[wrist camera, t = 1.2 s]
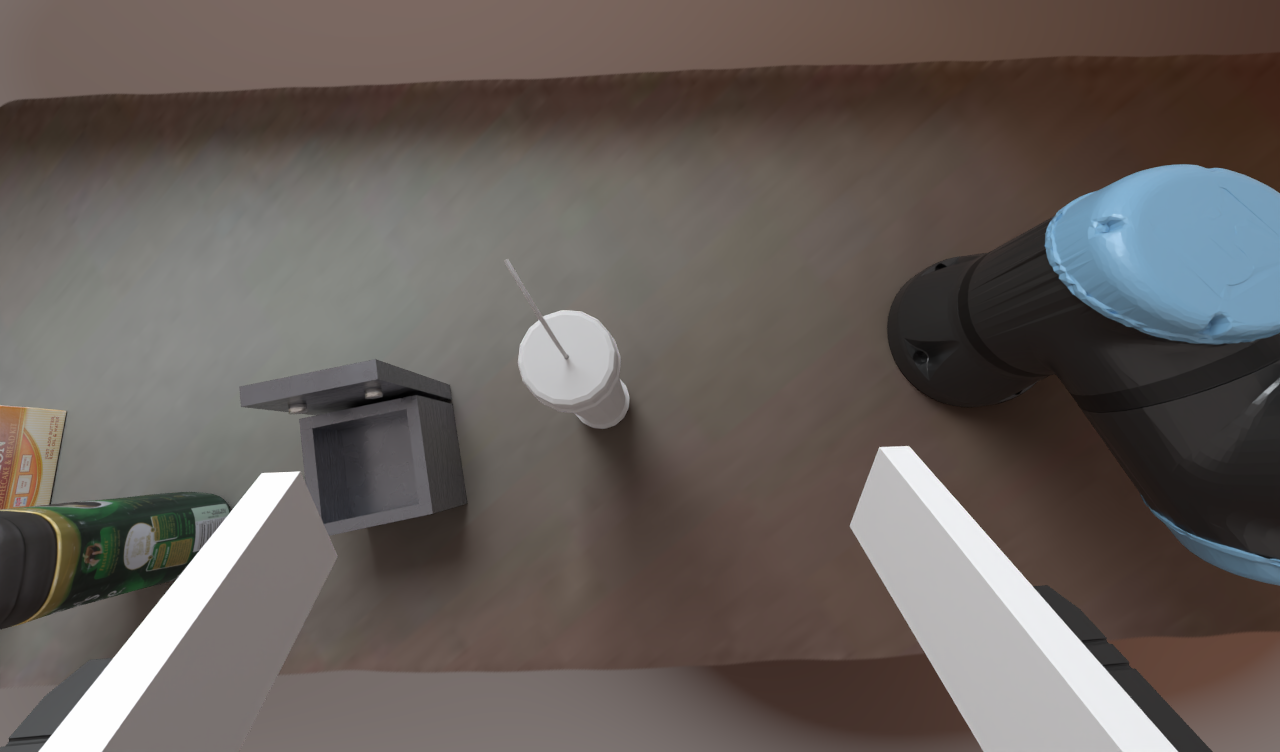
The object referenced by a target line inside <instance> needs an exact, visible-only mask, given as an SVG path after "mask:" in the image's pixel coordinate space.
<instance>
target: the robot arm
mask: <svg viewBox="0 0 1280 752" xmlns="http://www.w3.org/2000/svg"><path fill="white" fill-rule="evenodd" d="M887 328H888V340H889V345H890V349H891V352H892V355H893V357H894V359H895V361H896V363H897V365H898V367H899V368H900V370H901V371H902V373H903V374H904V375H905V377H906V378H907V379H908V380H909V381H910V382H911V383H912V384H913V385H914V386H915V387H916V388H917V389H919V390H920V391H921V392H923V393H924V394H926V395H928V396H929V397H931V398H933V399H935V400H937V401H940V402H943V403H945V404H949V405H953V406H960V407H978V406H985V405H992V404H998V403H1002V402H1005V401H1008V400H1010V399H1013V398H1015V397H1017V396H1019V395H1021V394H1022V393H1024V392H1025V391H1027V390H1028V389H1029V388H1031V387H1032V386H1033V385H1034V384H1035V383H1036V382H1037V381H1039V380H1042V379H1044V378H1046V377H1048V376H1049V375H1053V374H1056V375H1057V376H1058V378H1059V379H1060V380H1061V382H1062V383H1063V384H1064V386H1065V387H1066V389H1067V390H1068V391H1069V393H1070V394H1071V395H1072V397H1073V398H1074V399H1075V401H1076V402H1077V404H1078V405H1079V407H1080V408H1081V410H1082V411H1083V413H1084V414H1085V415H1086V417H1087V418H1088V420H1089V421H1090V422H1091V424H1092V425H1093V427H1094V428H1095V430H1096V431H1097V432H1098V434H1099V435H1100V437H1101V438H1102V440H1103V441H1104V442H1105V444H1106V445H1107V447H1108V448H1109V450H1110V451H1111V452H1112V454H1113V455H1114V457H1115V458H1116V460H1117V461H1118V462H1119V464H1120V465H1121V467H1122V468H1123V469H1124V471H1125V472H1126V474H1127V475H1128V477H1129V478H1130V479H1131V481H1132V482H1133V484H1134V485H1135V487H1136V488H1137V489H1138V491H1139V492H1140V495H1141V497H1142V499H1143V501H1144V503H1145V504H1146V506H1148V507H1149V508H1150V510H1151V512H1152V513H1153V514H1154V515H1155V516H1156V517H1157V518H1159V519H1160V520H1161V521H1162V522H1164V523H1165V525H1166V526H1167V527H1168V528H1169V529H1170V531H1171V532H1172V533H1173V534H1174V535H1175V537H1176V538H1177V539H1178V540H1179V541H1180V542H1181V544H1183V545H1184V546H1185V547H1186V548H1187V549H1188V550H1190V551H1191V552H1192V553H1194V554H1195V555H1196V556H1198V557H1200V558H1201V559H1203V560H1204V561H1206V562H1208V563H1210V564H1212V565H1214V566H1216V567H1218V568H1221V569H1223V570H1225V571H1228V572H1230V573H1233V574H1236V575H1239V576H1242V577H1246V578H1249V579H1253V580H1256V581H1260V582H1265V583H1269V584H1275V585H1280V193H1278V192H1277V191H1275V190H1274V189H1272V188H1270V187H1269V186H1267V185H1265V184H1263V183H1261V182H1259V181H1257V180H1255V179H1253V178H1250V177H1248V176H1245V175H1243V174H1240V173H1237V172H1233V171H1230V170H1226V169H1222V168H1211V169H1207V168H1204V167H1200V166H1198V165H1184V164H1181V165H1168V166H1161V167H1155V168H1151V169H1147V170H1143V171H1140V172H1137V173H1134V174H1132V175H1129V176H1127V177H1124V178H1122V179H1120V180H1118V181H1116V182H1114V183H1112V184H1110V185H1108V186H1107V187H1105V188H1103V189H1101V190H1099V191H1096V192H1092V193H1089V194H1086V195H1083V196H1081V197H1079V198H1077V199H1075V200H1073V201H1072V202H1070V203H1069V204H1067V205H1066V206H1065V207H1063V208H1062V209H1061V210H1059V211H1058V212H1057V214H1056V215H1055V216H1054V217H1052V218H1050V219H1048V220H1046V221H1044V222H1043V223H1041V224H1039V225H1037V226H1035V227H1034V228H1032V229H1030V230H1028V231H1026V232H1025V233H1023V234H1021V235H1019V236H1017V237H1016V238H1014V239H1012V240H1010V241H1008V242H1007V243H1005V244H1003V245H1001V246H999V247H997V248H996V249H994V250H993V251H991V252H989V253H983V254H976V255H968V256H961V257H955V258H950V259H946V260H943V261H940V262H938V263H935V264H933V265H931V266H929V267H928V268H926V269H924V270H923V271H921V272H920V273H918V274H917V275H915V276H914V277H912V278H911V279H910V280H909V281H908V282H907V283H906V284H905V285H904V286H903V287H902V288H901V289H900V291H899V292H898V294H897V295H896V297H895V299H894V301H893V303H892V306H891V309H890V312H889V317H888V327H887ZM850 527H851V529H852V531H853V532H854V534H855V536H856V537H857V539H858V541H859V542H860V544H861V546H862V548H863V549H864V551H865V553H866V554H867V556H868V558H869V559H870V561H871V563H872V564H873V566H874V568H875V569H876V571H877V573H878V574H879V576H880V578H881V580H882V581H883V583H884V585H885V586H886V588H887V590H888V591H889V593H890V595H891V596H892V598H893V600H894V601H895V603H896V605H897V606H898V608H899V610H900V612H901V613H902V615H903V617H904V618H905V620H906V622H907V623H908V625H909V627H910V628H911V630H912V632H913V633H914V635H915V637H916V638H917V640H918V642H919V643H920V645H921V647H922V649H923V650H924V652H925V654H926V655H927V657H928V659H929V660H930V662H931V664H932V665H933V667H934V669H935V670H936V672H937V674H938V675H939V677H940V679H941V681H942V682H943V684H944V686H945V687H946V689H947V691H948V692H949V694H950V696H951V697H952V699H953V700H954V702H955V704H956V706H957V707H958V709H959V711H960V713H961V714H962V716H963V718H964V719H965V721H966V723H967V724H968V726H969V728H970V729H971V731H972V733H973V734H974V736H975V738H976V739H977V741H978V743H979V745H980V746H981V748H982V750H983V751H984V752H1212V751H1211V749H1210V748H1208V746H1207V745H1206V744H1205V743H1204V742H1203V741H1202V740H1201V739H1200V738H1199V737H1198V736H1197V735H1196V733H1195V732H1194V731H1193V730H1192V729H1191V728H1190V727H1189V726H1188V725H1187V724H1186V723H1185V722H1184V721H1183V719H1182V718H1181V717H1180V716H1179V715H1178V714H1177V713H1176V712H1175V711H1174V710H1173V709H1172V708H1171V707H1170V705H1168V703H1167V702H1166V701H1165V700H1164V699H1163V698H1162V697H1161V696H1160V695H1159V694H1158V693H1157V692H1156V690H1154V689H1153V687H1152V686H1151V685H1150V684H1149V683H1148V682H1147V681H1146V680H1145V679H1144V678H1143V677H1142V676H1141V675H1140V673H1139V672H1138V671H1137V670H1136V669H1132V668H1131V667H1130V666H1129V662H1128V660H1127V659H1126V658H1125V657H1124V656H1123V655H1122V654H1121V653H1120V652H1119V651H1118V650H1117V649H1116V648H1115V647H1114V645H1113V644H1109V643H1108V642H1107V640H1106V639H1107V638H1106V637H1105V636H1104V635H1103V634H1102V632H1101V631H1100V630H1099V629H1098V628H1097V627H1096V626H1095V625H1094V624H1093V623H1092V622H1091V621H1090V620H1089V619H1088V617H1087V616H1086V615H1085V614H1084V613H1083V612H1082V611H1081V610H1080V609H1079V608H1077V607H1076V606H1075V605H1073V604H1072V603H1071V602H1069V601H1068V600H1067V599H1065V598H1064V597H1062V596H1061V595H1060V594H1058V593H1057V592H1056V591H1054V590H1053V589H1052V588H1050V587H1049V586H1048V585H1045V586H1032V585H1031V584H1030V583H1029V582H1028V581H1027V579H1026V578H1025V577H1024V576H1023V575H1022V574H1021V573H1020V572H1019V570H1018V569H1017V568H1016V567H1015V566H1014V565H1013V564H1012V562H1011V561H1010V560H1009V559H1008V558H1007V557H1006V556H1005V555H1004V553H1003V552H1002V551H1001V550H1000V549H999V548H998V547H997V545H996V544H995V543H994V542H993V541H992V540H991V539H990V537H989V536H988V535H987V534H986V533H985V532H984V531H983V530H982V528H981V527H980V526H979V525H978V524H977V523H976V522H975V520H974V519H973V518H972V517H971V516H970V515H969V514H968V513H967V511H966V510H965V509H964V508H963V507H962V506H961V505H960V503H959V502H958V501H957V500H956V499H955V498H954V497H953V495H952V494H951V493H950V492H949V491H948V490H947V489H946V488H945V486H944V485H943V484H942V483H941V482H940V481H939V480H938V478H937V477H936V476H935V475H934V474H933V473H932V472H931V471H930V469H929V468H928V467H927V466H926V465H925V464H924V463H923V461H922V460H921V459H920V458H919V457H918V456H917V455H916V454H915V452H914V451H913V450H912V449H911V448H910V447H909V446H898V447H879V449H878V452H877V455H876V457H875V460H874V463H873V465H872V468H871V471H870V473H869V476H868V479H867V481H866V484H865V487H864V489H863V492H862V495H861V497H860V500H859V503H858V505H857V508H856V511H855V513H854V516H853V519H852V521H851V524H850ZM337 557H338V556H337V554H336V551H335V549H334V547H333V544H332V542H331V540H330V538H329V535H328V533H327V531H326V529H325V526H324V524H323V522H322V520H321V517H320V515H319V513H318V511H317V508H316V506H315V504H314V501H313V499H312V497H311V495H310V492H309V490H308V488H307V486H306V483H305V481H304V479H303V477H302V474H301V472H278V473H262V474H261V475H260V476H259V477H258V479H257V480H256V481H255V482H254V483H253V485H252V486H251V487H250V488H249V490H248V491H247V492H246V493H245V495H244V496H243V497H242V498H241V500H240V501H239V502H238V503H237V505H236V506H235V507H234V508H233V510H232V511H231V512H230V513H229V515H228V516H227V517H226V518H225V520H224V521H223V522H222V523H221V525H220V526H219V527H218V528H217V530H216V531H215V532H214V533H213V535H212V536H211V537H210V538H209V540H208V541H207V542H206V543H205V545H204V546H203V547H202V548H201V550H200V551H199V552H198V553H197V555H196V556H195V557H194V558H193V560H192V561H191V562H190V563H189V565H188V566H187V567H186V568H185V570H184V571H183V572H182V573H181V575H180V576H179V577H178V578H177V580H176V581H175V582H174V583H173V584H172V586H171V587H170V588H169V589H168V591H167V592H166V593H165V594H164V596H163V597H162V598H161V599H160V601H159V602H158V603H157V604H156V606H155V607H154V608H153V609H152V611H151V612H150V613H149V614H148V616H147V617H146V618H145V619H144V621H143V622H142V623H141V624H140V626H139V627H138V628H137V629H136V631H135V632H134V633H133V634H132V636H131V637H130V638H129V639H128V641H127V642H126V643H125V644H124V646H123V647H122V648H121V649H120V651H119V652H118V653H117V654H116V656H115V657H114V658H108V659H95V660H89V661H88V662H87V663H85V664H84V665H83V666H82V667H80V668H79V669H78V670H77V671H75V672H74V673H73V674H72V675H70V676H69V677H68V678H67V679H66V680H64V681H63V682H62V683H61V684H59V685H58V686H57V687H56V688H54V689H53V690H52V691H51V692H49V693H48V694H47V695H46V696H45V697H44V698H43V699H42V700H41V701H40V703H39V704H38V705H37V706H36V707H35V708H34V709H33V711H32V712H31V713H30V714H29V715H28V716H27V718H26V719H25V720H24V721H23V722H22V723H21V725H20V726H19V727H18V728H17V729H16V730H15V731H14V733H13V734H12V735H11V736H10V737H9V742H8V744H7V745H6V746H5V747H1V748H0V752H239V751H240V749H241V747H242V745H243V743H244V740H245V739H246V737H247V735H248V733H249V731H250V729H251V727H252V725H253V723H254V721H255V719H256V717H257V715H258V713H259V711H260V709H261V707H262V705H263V703H264V701H265V699H266V697H267V695H268V693H269V691H270V689H271V687H272V685H273V683H274V681H275V679H276V678H277V676H278V674H279V672H280V670H281V668H282V666H283V664H284V662H285V660H286V658H287V656H288V654H289V652H290V650H291V648H292V646H293V644H294V642H295V640H296V638H297V636H298V634H299V632H300V630H301V628H302V626H303V624H304V622H305V620H306V618H307V616H308V614H309V612H310V610H311V608H312V606H313V604H314V602H315V600H316V598H317V596H318V594H319V593H320V591H321V589H322V587H323V585H324V583H325V581H326V579H327V577H328V575H329V573H330V571H331V569H332V567H333V565H334V563H335V561H336V559H337Z"/></svg>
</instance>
